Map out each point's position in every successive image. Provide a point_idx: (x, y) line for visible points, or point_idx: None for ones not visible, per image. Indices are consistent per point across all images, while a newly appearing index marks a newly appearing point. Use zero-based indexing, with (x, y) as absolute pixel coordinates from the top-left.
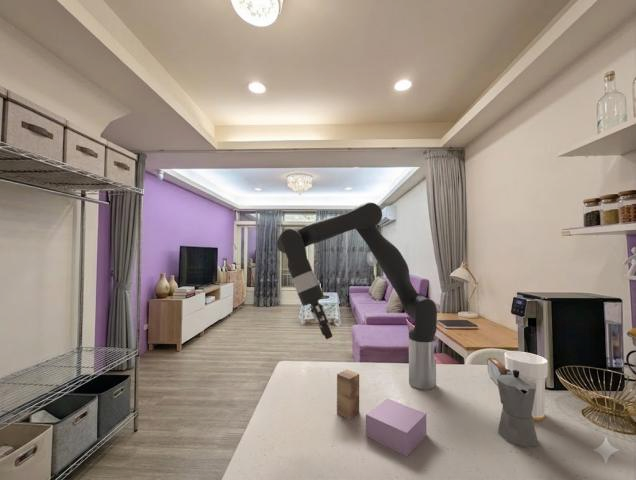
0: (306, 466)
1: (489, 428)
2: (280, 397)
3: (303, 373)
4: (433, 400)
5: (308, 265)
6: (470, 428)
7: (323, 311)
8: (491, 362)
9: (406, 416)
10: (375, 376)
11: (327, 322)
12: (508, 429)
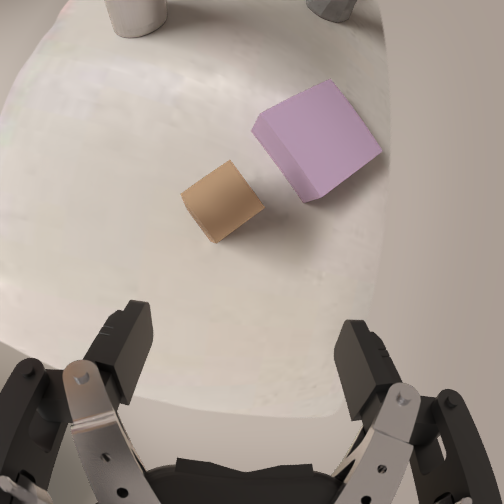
0: None
1: (306, 15)
2: None
3: (12, 286)
4: (208, 26)
5: None
6: (304, 32)
7: (489, 467)
8: None
9: (337, 118)
10: (64, 96)
11: (453, 395)
12: (342, 12)
